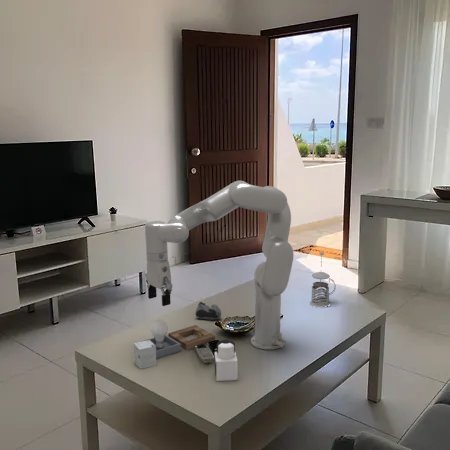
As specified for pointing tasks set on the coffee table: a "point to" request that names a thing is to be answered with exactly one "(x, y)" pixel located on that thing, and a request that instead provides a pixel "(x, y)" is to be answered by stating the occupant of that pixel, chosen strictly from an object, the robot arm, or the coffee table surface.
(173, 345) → the tray
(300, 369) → the coffee table surface
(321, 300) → the french press
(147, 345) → the skincare box
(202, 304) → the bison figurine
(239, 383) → the coffee table surface
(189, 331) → the socket collar
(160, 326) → the lightbulb
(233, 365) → the medicine bottle
